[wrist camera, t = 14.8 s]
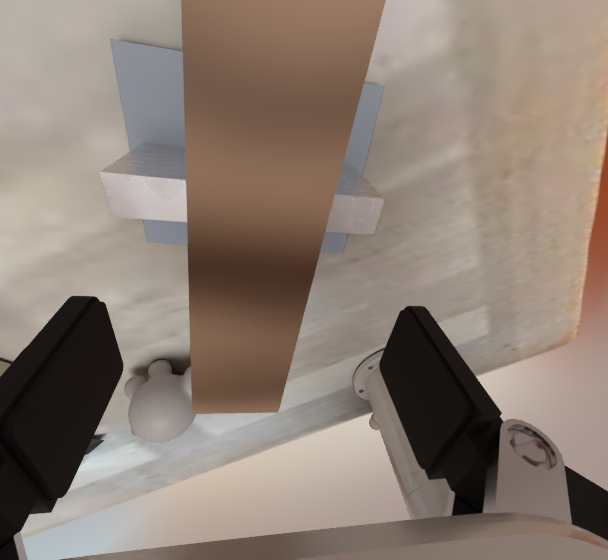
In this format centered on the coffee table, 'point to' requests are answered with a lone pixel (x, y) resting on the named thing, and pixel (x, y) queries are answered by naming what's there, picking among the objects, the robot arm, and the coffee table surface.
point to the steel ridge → (173, 200)
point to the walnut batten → (262, 178)
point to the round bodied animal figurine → (160, 403)
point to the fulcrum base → (171, 122)
